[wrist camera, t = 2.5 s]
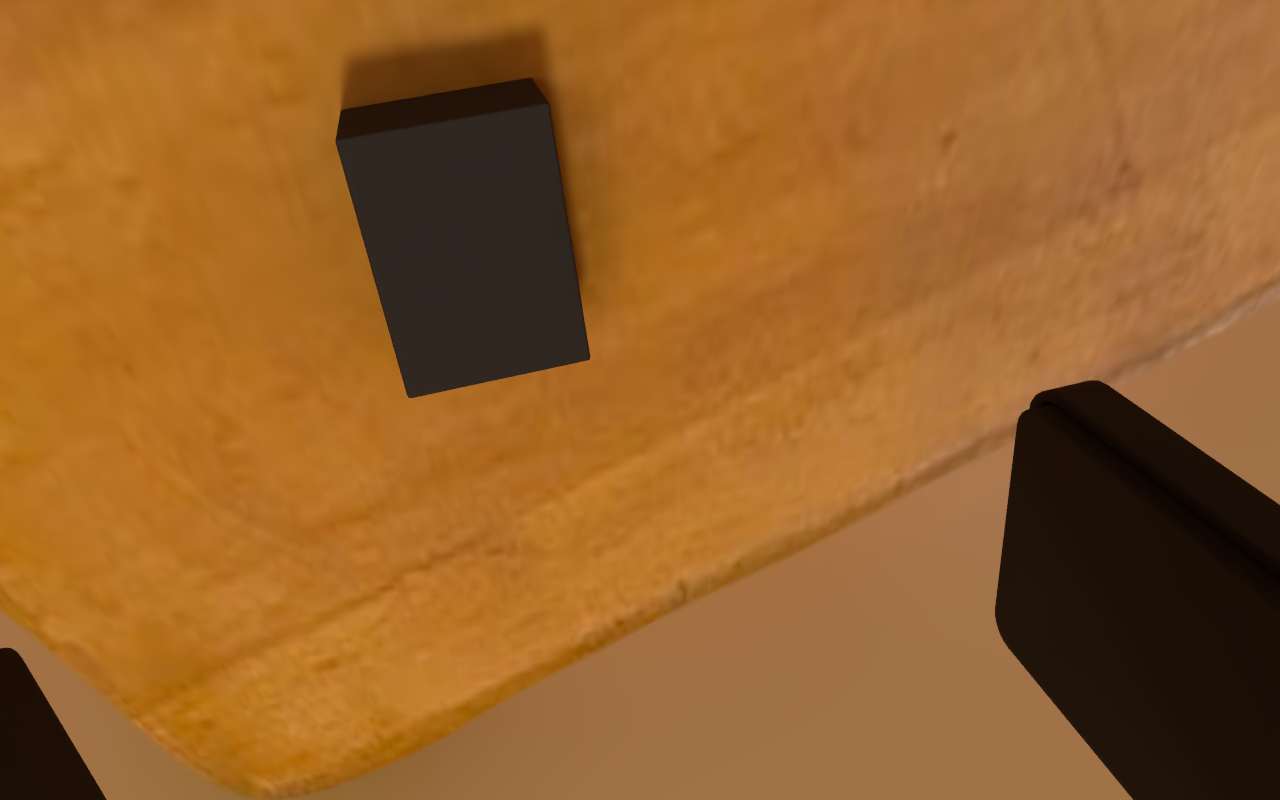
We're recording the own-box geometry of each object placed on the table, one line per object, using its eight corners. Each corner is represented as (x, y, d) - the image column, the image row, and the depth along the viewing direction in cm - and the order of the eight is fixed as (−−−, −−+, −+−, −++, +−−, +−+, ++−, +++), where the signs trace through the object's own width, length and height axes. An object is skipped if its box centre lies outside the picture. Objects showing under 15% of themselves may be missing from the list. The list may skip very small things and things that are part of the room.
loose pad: (532, 76, 25) (549, 102, 22) (572, 315, 29) (591, 360, 26) (339, 109, 24) (334, 139, 22) (405, 350, 28) (407, 399, 25)
